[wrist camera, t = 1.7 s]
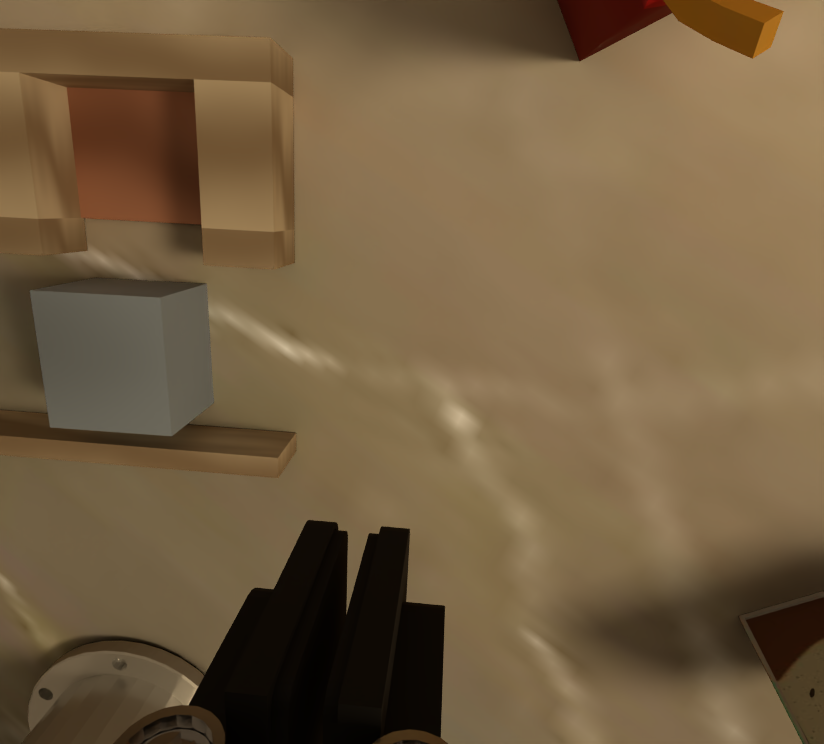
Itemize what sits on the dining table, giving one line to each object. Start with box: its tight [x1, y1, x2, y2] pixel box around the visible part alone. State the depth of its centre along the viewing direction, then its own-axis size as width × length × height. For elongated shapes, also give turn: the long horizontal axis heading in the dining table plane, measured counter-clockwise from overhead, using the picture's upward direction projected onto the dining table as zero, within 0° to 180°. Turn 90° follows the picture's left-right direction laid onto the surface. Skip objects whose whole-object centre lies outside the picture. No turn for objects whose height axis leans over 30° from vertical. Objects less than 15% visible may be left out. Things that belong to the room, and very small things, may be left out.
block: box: [30, 278, 214, 436], centre depth 26 cm, size 6×6×4 cm
